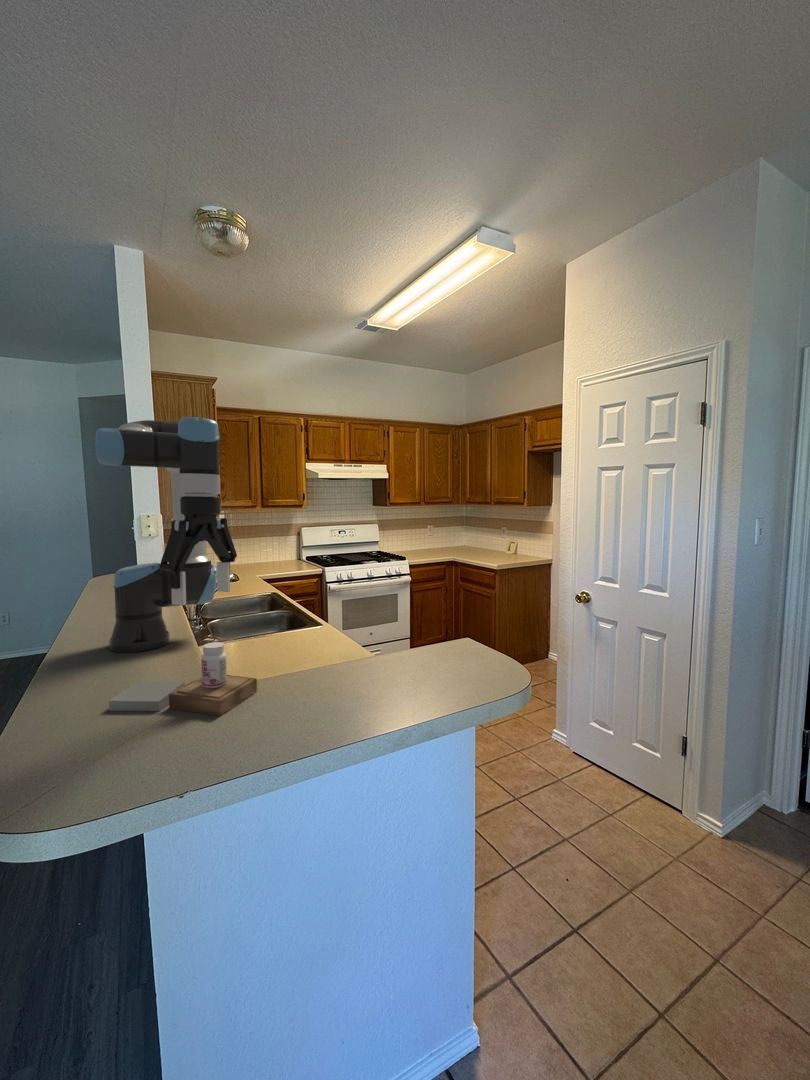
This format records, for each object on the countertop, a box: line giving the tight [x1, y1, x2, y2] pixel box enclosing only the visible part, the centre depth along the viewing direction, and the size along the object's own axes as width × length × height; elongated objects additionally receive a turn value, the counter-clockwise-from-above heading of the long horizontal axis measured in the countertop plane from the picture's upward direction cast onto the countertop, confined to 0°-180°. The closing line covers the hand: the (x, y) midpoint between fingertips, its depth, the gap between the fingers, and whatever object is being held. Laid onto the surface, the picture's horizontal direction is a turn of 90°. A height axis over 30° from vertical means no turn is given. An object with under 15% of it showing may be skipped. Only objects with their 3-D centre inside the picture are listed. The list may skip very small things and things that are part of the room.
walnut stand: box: [168, 674, 258, 717], centre depth 95 cm, size 12×12×3 cm
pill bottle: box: [201, 641, 228, 688], centre depth 94 cm, size 5×5×8 cm
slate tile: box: [108, 680, 186, 712], centre depth 94 cm, size 10×10×2 cm
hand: (203, 597), depth 95 cm, fingers open, 13 cm apart
